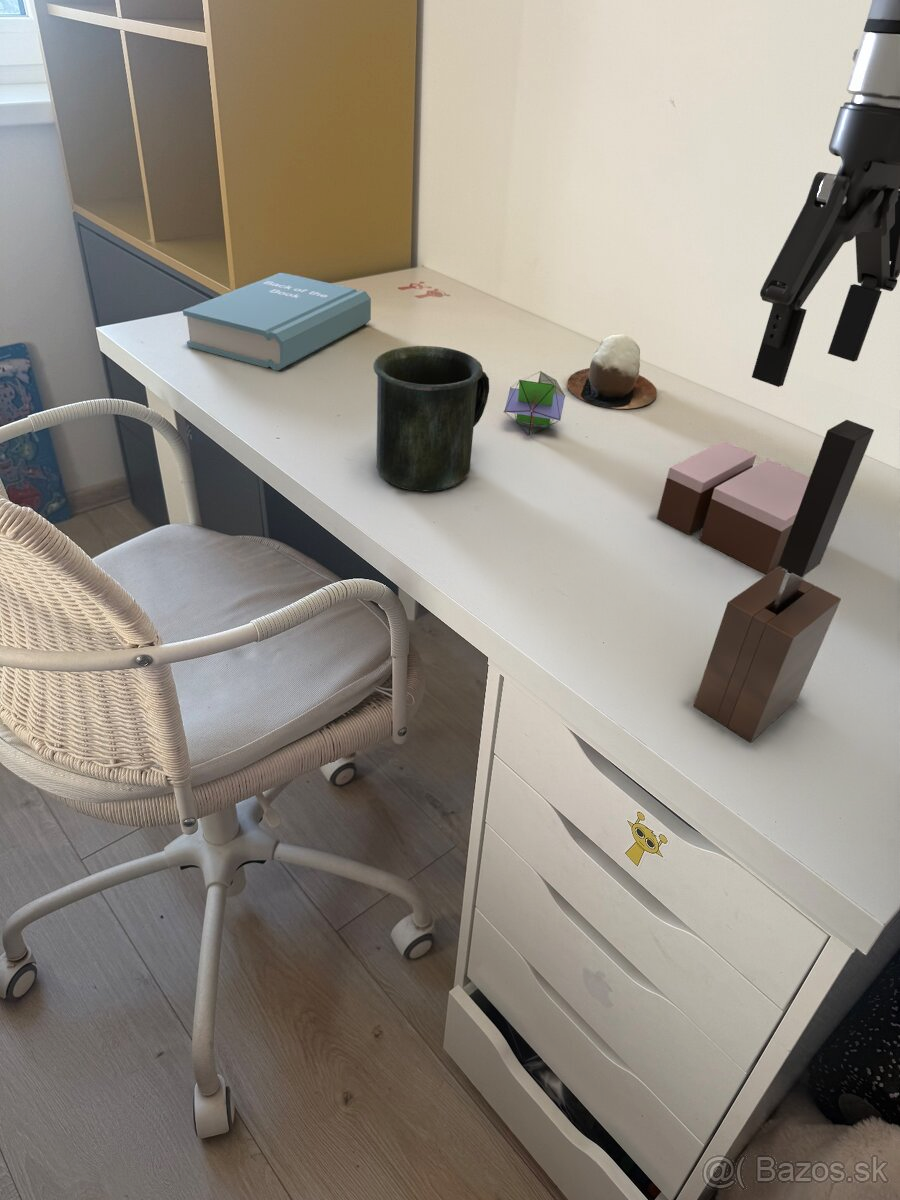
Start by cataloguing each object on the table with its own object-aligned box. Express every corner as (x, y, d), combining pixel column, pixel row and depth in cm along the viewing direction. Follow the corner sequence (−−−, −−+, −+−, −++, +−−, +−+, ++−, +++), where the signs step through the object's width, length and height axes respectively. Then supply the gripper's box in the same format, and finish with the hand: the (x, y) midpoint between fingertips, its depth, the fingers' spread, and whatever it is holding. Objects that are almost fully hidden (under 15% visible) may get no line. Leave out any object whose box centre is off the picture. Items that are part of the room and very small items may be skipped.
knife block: (797, 700, 65) (841, 598, 59) (750, 742, 61) (793, 638, 55) (740, 667, 67) (778, 566, 61) (692, 705, 63) (727, 602, 57)
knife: (765, 700, 64) (876, 428, 51) (745, 718, 63) (854, 441, 49) (745, 688, 65) (848, 418, 52) (725, 705, 64) (825, 430, 50)
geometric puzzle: (557, 434, 95) (570, 365, 95) (499, 425, 96) (511, 357, 96) (557, 447, 102) (568, 383, 102) (502, 438, 103) (513, 375, 103)
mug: (351, 467, 90) (350, 360, 83) (446, 431, 99) (452, 331, 92) (419, 507, 84) (425, 395, 77) (514, 465, 93) (526, 361, 86)
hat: (569, 358, 117) (628, 312, 112) (613, 414, 120) (673, 372, 114) (552, 386, 108) (616, 336, 102) (601, 446, 110) (665, 401, 105)
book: (282, 304, 132) (281, 272, 129) (370, 325, 126) (370, 292, 123) (187, 346, 115) (182, 310, 112) (284, 372, 110) (281, 335, 107)
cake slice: (740, 504, 89) (757, 454, 86) (688, 535, 83) (703, 482, 80) (709, 489, 91) (723, 440, 88) (656, 518, 86) (669, 466, 82)
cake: (816, 539, 84) (836, 487, 81) (766, 574, 79) (785, 520, 75) (750, 509, 88) (767, 458, 85) (699, 540, 83) (714, 487, 79)
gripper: (915, 100, 74) (835, 337, 86) (765, 94, 60) (694, 379, 72) (1003, 110, 70) (905, 359, 82) (863, 106, 55) (770, 408, 68)
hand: (806, 369), depth 77 cm, fingers open, 13 cm apart
